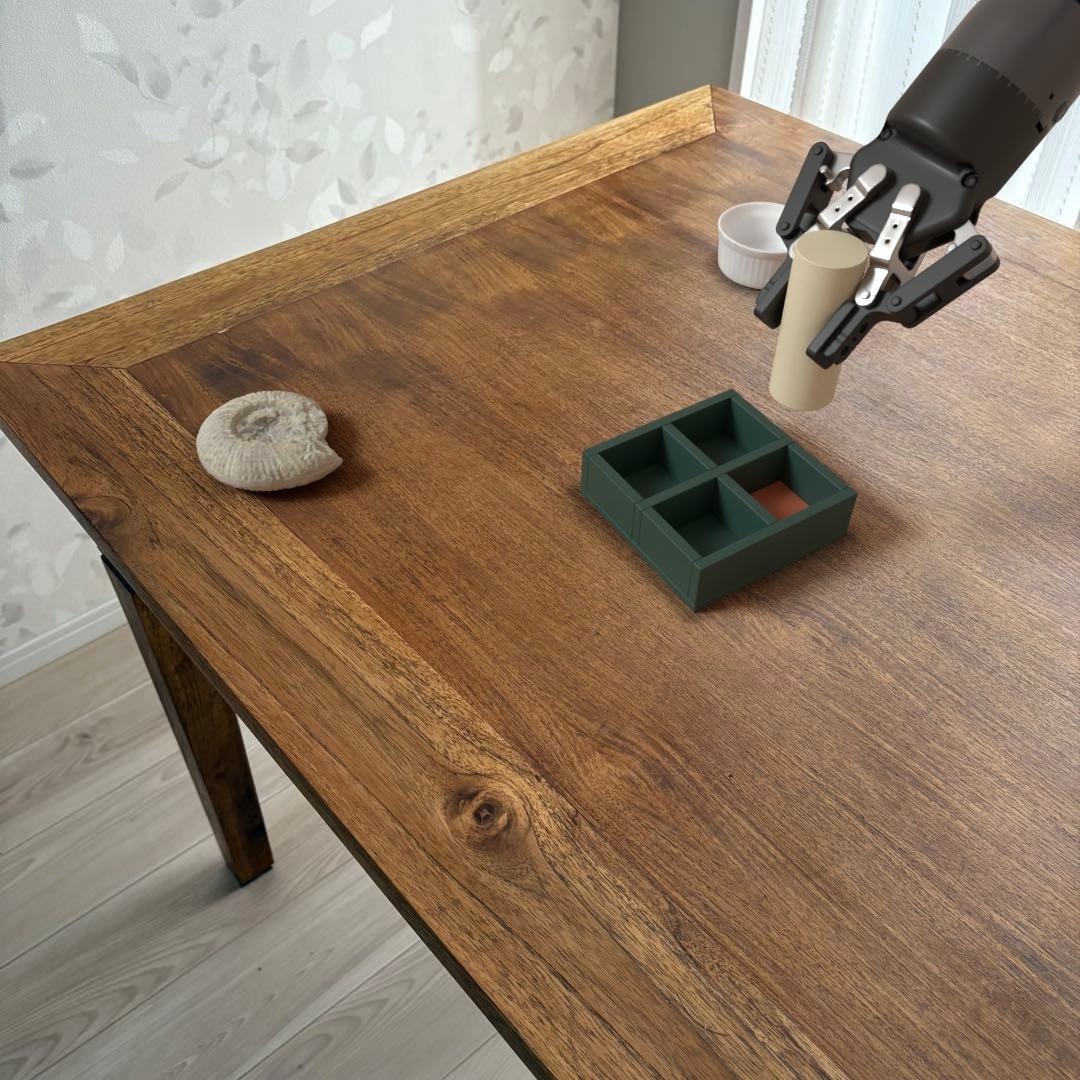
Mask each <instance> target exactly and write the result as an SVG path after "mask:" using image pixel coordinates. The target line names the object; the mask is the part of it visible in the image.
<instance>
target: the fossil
mask: <svg viewBox="0 0 1080 1080" xmlns="http://www.w3.org/2000/svg"><path fill="white" fill-rule="evenodd" d="M328 432H329V423H328V419H327V415H326V412H325V411H323V409H322V408H321V405H320V404H319V402H317V401H316V399H312V398H311V397H308V396H307V395H303V394H299V393H297V392H292V391H286V390H285V391H283V390H273V391H272V390H267V391H266V390H263V391H260V390H259V391H257V392H251V393H247V394H246V395H242V396H240V397H239V396H238V397H236V398H232V399H231V400H229V401H227V402H226V403H223V404H222V405H220V406H219V407H217V408H216V409H215V410H213V411H212V412H211V414H209V416H208V417H206V419H205V420H204V421H203V422H202V424H201V426H200V428H199V431H198V434H197V435H196V442H195V443H196V452H197V454H198V455H197V456H198V459H199V461H200V463H201V465H202V467H203V469H204V470H205V471H206V472H207V473H208V474H209V475H210V476H212V477H213V478H214V479H215V480H218V482H219V483H221V484H224V485H228V486H230V487H232V488H234V489H240V490H244V491H248V490H249V491H252V492H260V491H261V492H266V491H267V492H272V491H279V490H284V489H294V488H296V487H303V486H307V485H308V484H311V483H314V482H317V481H320V480H321V479H323V478H325V477H326V476H327V475H329V474H332V472H334V471H335V470H336V469H338V468H339V467H341V466H342V464H343V462H344V461H343V458H342V457H340V456H339V455H338V453H336V452H335V450H334V449H332V448H331V447H330V446H329V443H328V442H327V441H326V437H327V435H328Z"/></svg>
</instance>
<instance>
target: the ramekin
mask: <svg viewBox="0 0 1080 1080" xmlns="http://www.w3.org/2000/svg"><path fill="white" fill-rule="evenodd" d="M784 207H785V204H782V203H778V202H771V201H751V202H743V203H739V204H737V205H736V204H735V205H733V206H731V207H729V208H727V209H726V210H724V211H723V212H722V213H721V214H720V216H719V217H718V220H717V232H718V247H717V249H718V251H717V262H718V267H719V269H720V271H721V272H722V274H724V276H725V277H726V278H728V279H729V280H731V281H732V282H733V283H736V284H737V285H740V286H743V287H746V288H750V289H755V290H762V289H763V288H764V287H765V285H766V284H767V283H768V281H770V279H771V278H772V276H773V275H774V274H775V272H776V271H777V270H778V269H779V267H780V266H781V265H782V264H783V262H784V261H785V260H786V257H787V253H788V252H787V248H786V246H785V244H784V242H783V241H782V239H781V237H780V236H779V235H778V234H777V233H776V225H777V223H778V220H779V218H780V216H781V214H782V211H783V209H784Z"/></svg>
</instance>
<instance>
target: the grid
mask: <svg viewBox="0 0 1080 1080" xmlns="http://www.w3.org/2000/svg"><path fill="white" fill-rule="evenodd" d="M580 472H581V473H580V494H581V495H582V496H583V497H584V499H586V501H587V502H588V503H590V505H591V506H592V507H593V508H594V509H595V510H596V511H597V512H598V513H599V514H600V515H601V516H602V517H603V519H604V520H606V521H607V523H608V524H609V525H610V526H611V527H612V528H613V529H614V530H615V531H616V532H617V533H618V535H620V536H621V537H622V538H623V540H624V541H626V542H627V544H628V545H629V546H630V547H631V548H632V549H633V550H634V551H635V552H636V553H637V554H638V555H639V556H640V558H641V559H642V560H643V561H644V562H646V564H647V565H648V566H649V567H650V568H651V569H652V570H653V571H654V572H655V573H656V574H657V575H658V576H659V577H660V579H662V581H664V583H665V584H666V585H667V586H668V587H669V588H670V589H671V590H672V591H673V592H674V593H675V594H676V595H677V596H678V598H679V599H681V600H682V601H683V603H685V604H686V606H687V607H688V608H689V609H690V610H691V611H692V612H693V613H695V612H698V611H699V610H702V609H703V608H705V607H707V606H709V605H711V604H713V603H716V602H717V601H719V600H721V599H723V598H725V597H727V596H729V595H731V594H734V593H735V592H737V591H739V590H742V589H743V588H745V587H747V586H749V585H751V584H753V583H756V582H757V581H759V580H761V579H763V578H765V577H767V576H769V575H771V574H773V573H774V572H776V571H779V570H780V569H783V568H785V567H786V566H789V565H790V564H793V563H794V562H797V561H798V560H800V559H802V558H804V557H807V556H808V555H810V554H813V553H814V552H816V551H818V550H820V549H822V548H824V547H826V546H828V545H830V544H832V543H834V542H836V541H839V539H842V538H844V537H846V536H847V534H848V529H849V527H850V524H851V520H852V516H853V513H854V510H855V506H856V502H857V499H858V495H859V492H858V491H857V490H855V489H854V488H853V487H851V486H850V485H849V484H848V483H846V482H845V481H844V480H843V479H842V478H840V477H839V476H838V475H837V474H836V473H835V472H833V471H832V470H831V468H828V467H827V466H826V465H825V464H824V463H823V462H821V461H820V460H819V459H818V458H816V457H815V456H814V455H813V454H812V453H811V452H809V451H808V450H807V449H805V448H804V447H803V446H802V445H801V444H799V442H797V441H796V440H795V439H794V438H792V436H790V435H789V434H788V433H787V432H785V431H784V430H783V429H782V428H781V427H779V426H778V425H777V424H776V423H774V422H773V421H772V420H771V419H770V418H769V417H767V416H766V415H765V414H764V413H762V412H761V411H760V410H759V409H758V408H757V407H755V406H754V405H753V404H752V403H751V402H749V401H748V400H747V399H746V398H744V397H743V396H742V395H741V394H739V392H737V391H736V390H735V389H734V388H729V389H727V390H725V391H723V392H720V393H716V394H714V395H712V396H710V397H708V398H705V399H703V400H700V401H698V402H695V403H692V404H691V405H689V406H685V407H683V408H681V409H679V410H677V411H674V412H671V413H670V414H667V415H664V416H662V417H659V418H657V419H655V420H653V421H650V422H648V423H644V424H643V425H641V426H638V427H635V428H633V429H631V430H629V431H625V432H624V433H621V434H619V435H616V436H613V437H612V438H609V439H607V440H605V441H602V442H600V443H597V444H595V445H593V446H590V447H588V448H585V449H582V452H581V469H580Z"/></svg>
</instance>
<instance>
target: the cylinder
mask: <svg viewBox="0 0 1080 1080" xmlns="http://www.w3.org/2000/svg"><path fill="white" fill-rule="evenodd" d="M869 256H870V251H869V248H868V247H867V244H866V243H864V242H862V241H861V240H860V239H858V238H857V237H855V236H853V235H850V234H848V233H844V232H840V231H834V230H817V231H812V232H809V233H806V234H804V235H803V236H801V237H800V238H799V239H798V240H797V242H796V246H795V251H794V256H793V262H792V267H791V272H790V278H789V283H788V288H787V294H786V299H785V304H784V309H783V315H782V320H781V324H780V326H779V331H778V337H777V342H776V347H775V353H774V358H773V363H772V368H771V373H770V379H769V384H768V390H769V393H770V395H771V397H772V398H773V399H774V401H776V402H777V403H778V404H780V405H781V406H783V407H785V408H788V409H791V410H794V411H799V412H800V411H801V412H814V411H819V410H822V409H824V408H826V407H828V406H829V405H830V404H831V403H832V402H833V400H834V398H835V395H836V391H837V386H838V384H839V378H840V374H841V371H842V365H843V362H842V363H840V364H839V365H835V364H833V365H832V366H831V367H830V368H828V369H823V368H821V367H820V366H819V365H818V364H816V363H815V362H814V361H813V360H811V359H810V358H809V357H808V356H807V355H806V349H807V347H808V346H809V344H810V343H811V342H812V341H813V340H814V338H815V337H816V336H817V335H818V334H819V332H820V331H821V330H822V329H823V327H824V326H825V325H826V324H827V323H828V321H829V320H830V319H831V318H832V316H833V315H834V314H835V313H836V312H837V310H838V309H839V308H840V307H841V306H842V304H843V303H844V302H845V301H846V300H849V301H850V302H853V301H854V300H855V294H856V292H857V290H858V288H859V286H860V284H861V282H862V280H863V278H864V276H865V273H866V272H865V271H866V267H867V263H868V261H869V260H868V259H869Z"/></svg>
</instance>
